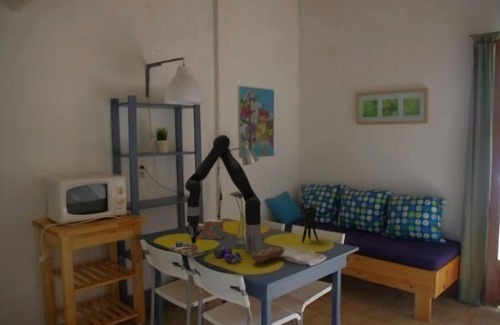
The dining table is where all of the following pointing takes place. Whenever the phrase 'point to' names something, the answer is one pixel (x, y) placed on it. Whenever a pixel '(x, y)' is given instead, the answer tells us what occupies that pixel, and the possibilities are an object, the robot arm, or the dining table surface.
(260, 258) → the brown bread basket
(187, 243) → the button
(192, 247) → the button
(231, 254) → the toy race car
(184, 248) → the button board
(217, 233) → the stack of blocks
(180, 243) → the button
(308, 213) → the black legged piece
